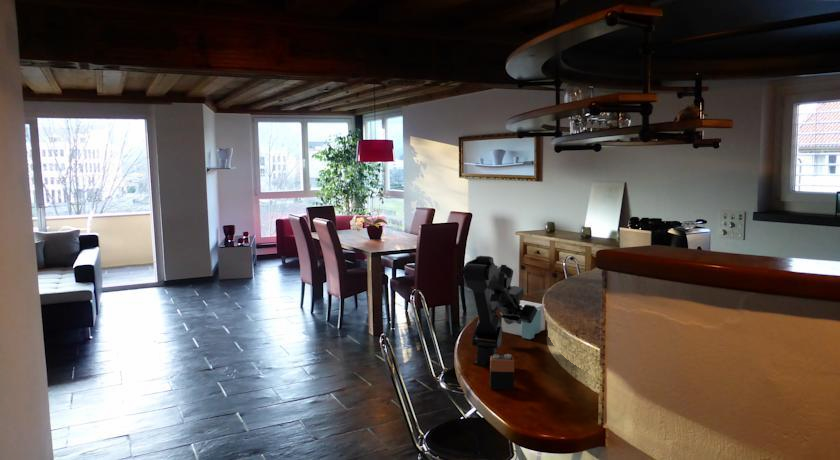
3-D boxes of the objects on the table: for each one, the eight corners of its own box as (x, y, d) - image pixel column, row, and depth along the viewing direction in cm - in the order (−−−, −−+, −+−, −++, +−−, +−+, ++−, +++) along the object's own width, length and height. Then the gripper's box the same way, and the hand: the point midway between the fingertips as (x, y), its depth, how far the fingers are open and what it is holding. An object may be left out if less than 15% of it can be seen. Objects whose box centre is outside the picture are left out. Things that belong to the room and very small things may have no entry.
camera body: (523, 337, 231) (524, 311, 230) (499, 331, 238) (500, 306, 237) (545, 329, 242) (545, 304, 241) (521, 324, 249) (522, 300, 248)
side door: (529, 339, 227) (530, 315, 226) (521, 337, 229) (522, 313, 228) (545, 333, 235) (546, 310, 234) (537, 331, 237) (538, 308, 236)
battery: (513, 390, 178) (514, 357, 176) (490, 390, 178) (491, 357, 177) (512, 385, 182) (513, 352, 181) (489, 384, 182) (490, 352, 181)
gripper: (535, 284, 212) (551, 309, 222) (491, 276, 225) (508, 301, 234) (521, 310, 207) (538, 335, 217) (478, 301, 220) (495, 325, 229)
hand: (520, 323), depth 224 cm, fingers closed
